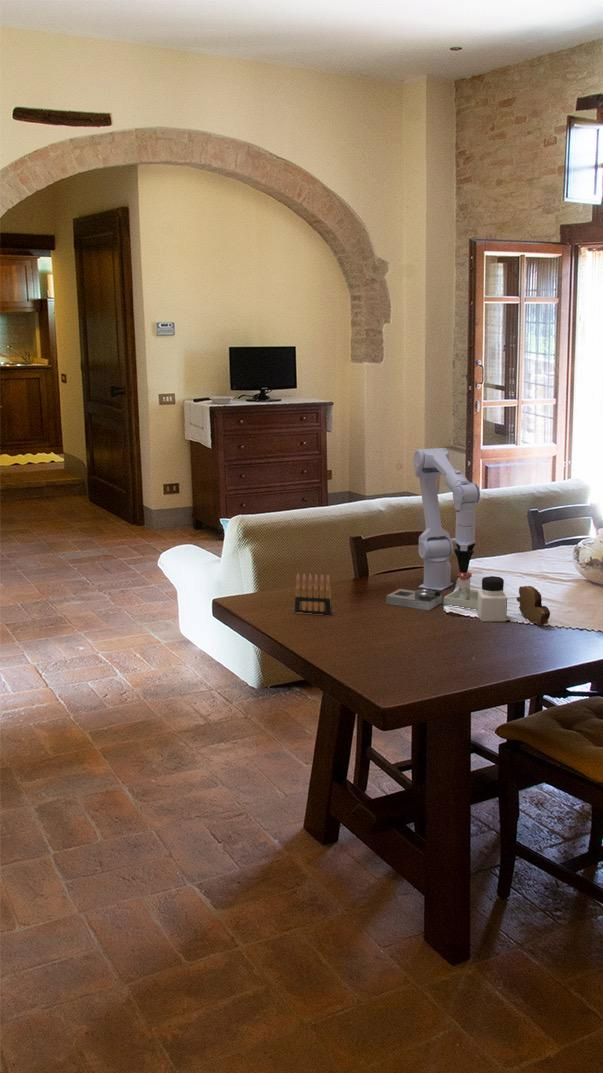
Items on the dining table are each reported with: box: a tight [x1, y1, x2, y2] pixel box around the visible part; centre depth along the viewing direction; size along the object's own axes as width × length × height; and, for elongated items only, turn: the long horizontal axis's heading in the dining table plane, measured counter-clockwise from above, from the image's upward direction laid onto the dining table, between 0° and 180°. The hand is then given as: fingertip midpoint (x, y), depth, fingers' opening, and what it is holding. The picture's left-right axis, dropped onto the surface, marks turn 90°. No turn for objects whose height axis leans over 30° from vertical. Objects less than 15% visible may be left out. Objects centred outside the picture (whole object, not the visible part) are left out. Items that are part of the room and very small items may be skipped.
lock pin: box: [456, 571, 473, 601], centre depth 294 cm, size 4×4×9 cm
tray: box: [443, 589, 478, 611], centre depth 295 cm, size 11×11×2 cm
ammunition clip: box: [294, 572, 333, 616], centre depth 285 cm, size 11×2×12 cm, turn 77°
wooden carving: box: [516, 585, 551, 626], centre depth 276 cm, size 16×5×10 cm, turn 18°
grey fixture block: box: [385, 588, 443, 611], centre depth 295 cm, size 9×14×5 cm, turn 58°
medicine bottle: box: [476, 575, 508, 623], centre depth 279 cm, size 7×7×12 cm
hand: (464, 569), depth 294 cm, fingers open, 7 cm apart
